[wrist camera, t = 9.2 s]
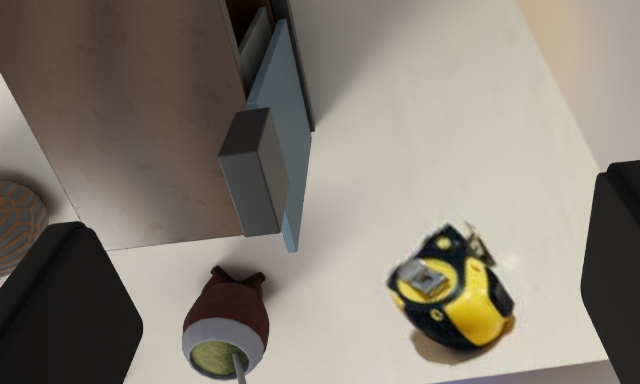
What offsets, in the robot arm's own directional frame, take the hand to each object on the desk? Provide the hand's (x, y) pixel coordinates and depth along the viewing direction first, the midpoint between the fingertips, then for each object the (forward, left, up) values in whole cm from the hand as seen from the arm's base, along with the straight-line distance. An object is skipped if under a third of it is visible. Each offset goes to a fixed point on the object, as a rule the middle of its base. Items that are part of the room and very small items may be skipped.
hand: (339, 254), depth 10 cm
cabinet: (+11, +2, -27) cm, 29 cm away
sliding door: (+5, +7, -26) cm, 27 cm away
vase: (+30, +14, -27) cm, 42 cm away
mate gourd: (+14, +26, -27) cm, 40 cm away
